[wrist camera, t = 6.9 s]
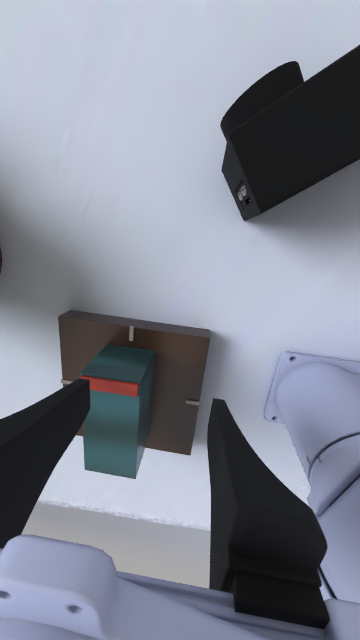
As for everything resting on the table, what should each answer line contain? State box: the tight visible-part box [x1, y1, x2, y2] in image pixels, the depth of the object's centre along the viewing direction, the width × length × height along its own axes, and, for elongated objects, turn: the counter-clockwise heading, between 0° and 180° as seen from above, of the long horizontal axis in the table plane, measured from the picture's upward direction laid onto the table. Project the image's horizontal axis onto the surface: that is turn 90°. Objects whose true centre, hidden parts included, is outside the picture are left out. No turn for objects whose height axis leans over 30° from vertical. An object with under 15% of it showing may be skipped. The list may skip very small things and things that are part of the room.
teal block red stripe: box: [80, 344, 155, 479], centre depth 21 cm, size 10×5×5 cm, turn 174°
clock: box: [58, 310, 210, 455], centre depth 25 cm, size 14×14×2 cm
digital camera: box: [220, 45, 360, 221], centre depth 14 cm, size 10×5×7 cm, turn 119°
